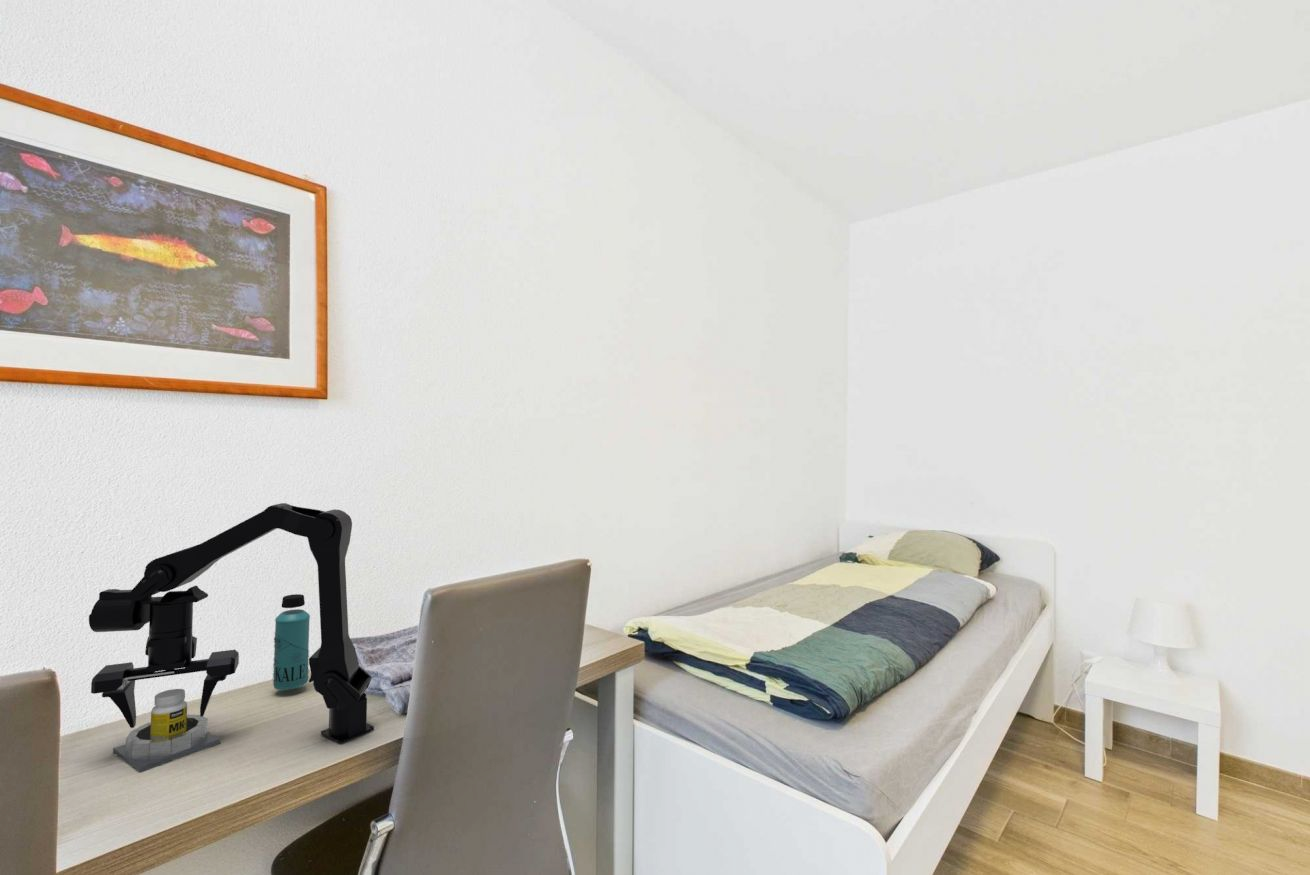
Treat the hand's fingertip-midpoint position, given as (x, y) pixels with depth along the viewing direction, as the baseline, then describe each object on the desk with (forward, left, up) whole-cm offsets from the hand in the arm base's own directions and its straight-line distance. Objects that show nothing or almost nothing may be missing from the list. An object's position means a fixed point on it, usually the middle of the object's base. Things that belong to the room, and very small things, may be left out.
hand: (168, 721), depth 100 cm
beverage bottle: (+7, -23, -5) cm, 25 cm away
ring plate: (0, 0, -4) cm, 4 cm away
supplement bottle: (0, 0, -4) cm, 4 cm away
